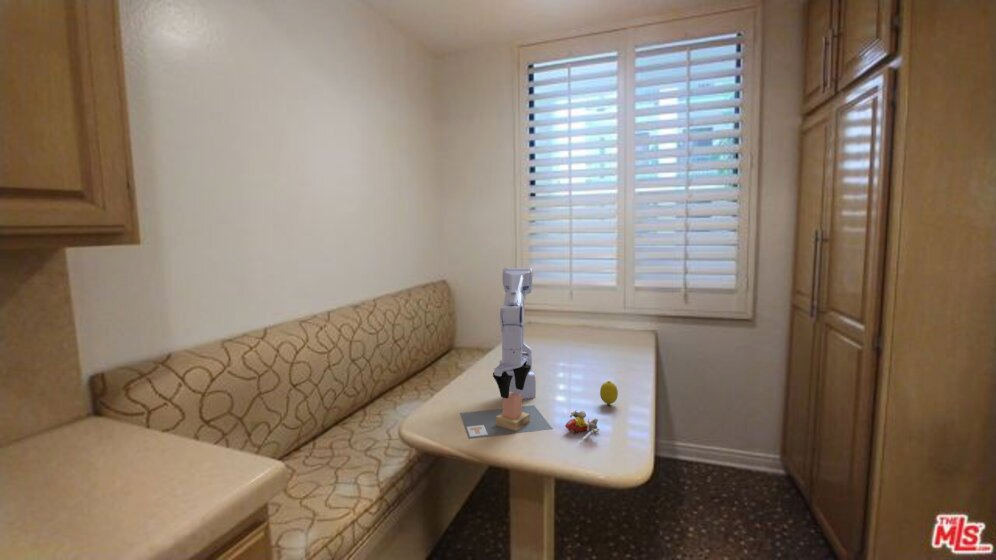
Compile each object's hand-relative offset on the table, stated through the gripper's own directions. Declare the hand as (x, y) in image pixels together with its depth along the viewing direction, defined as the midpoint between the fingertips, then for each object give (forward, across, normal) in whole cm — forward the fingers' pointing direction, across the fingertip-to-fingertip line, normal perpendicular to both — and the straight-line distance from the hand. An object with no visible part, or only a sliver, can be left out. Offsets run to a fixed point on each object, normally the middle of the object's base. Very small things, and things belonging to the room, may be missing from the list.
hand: (512, 393), depth 127 cm
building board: (+10, 0, -3) cm, 10 cm away
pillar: (+7, 0, 0) cm, 7 cm away
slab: (+9, 0, 0) cm, 9 cm away
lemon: (+10, -30, +17) cm, 36 cm away
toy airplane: (+10, -8, +19) cm, 23 cm away
